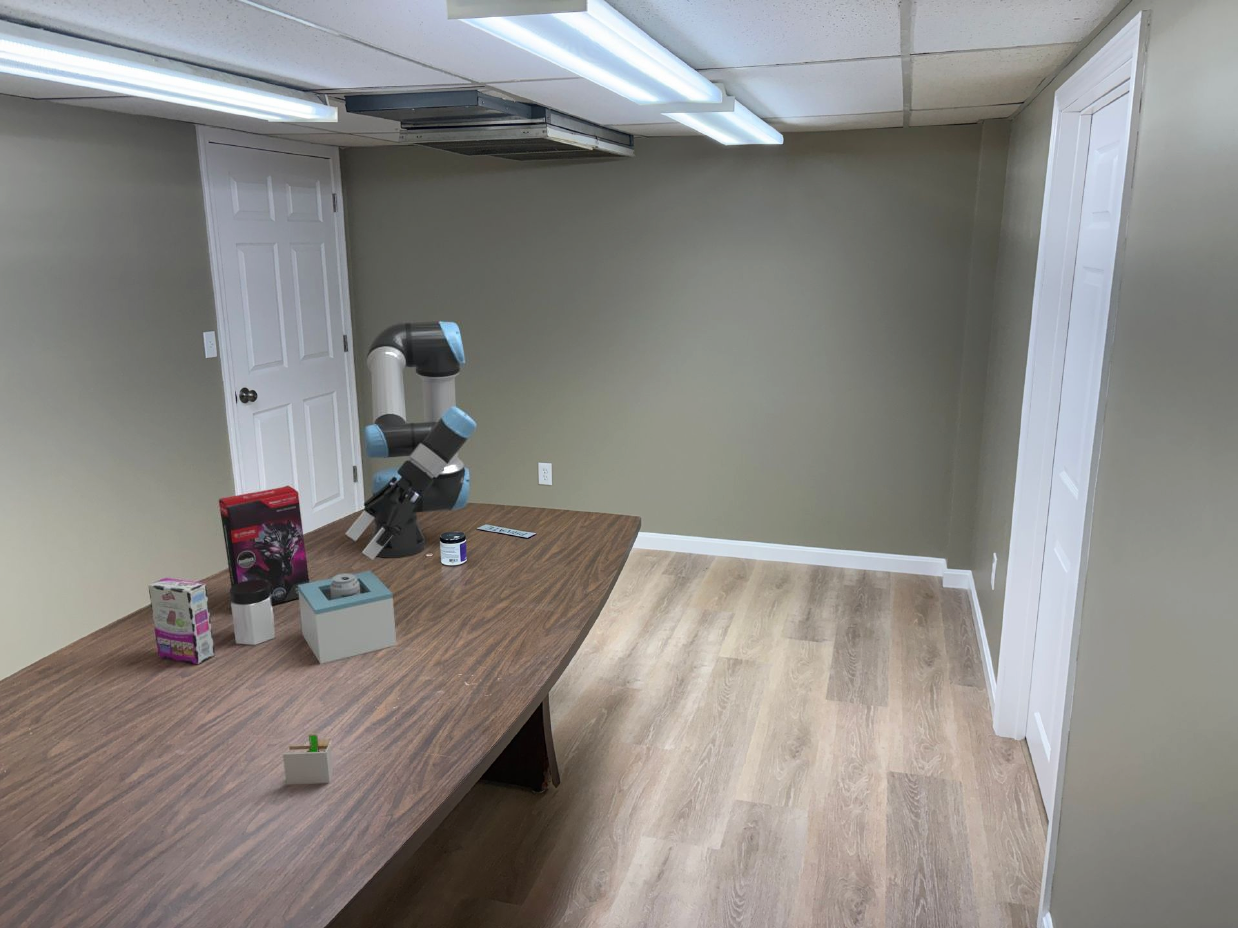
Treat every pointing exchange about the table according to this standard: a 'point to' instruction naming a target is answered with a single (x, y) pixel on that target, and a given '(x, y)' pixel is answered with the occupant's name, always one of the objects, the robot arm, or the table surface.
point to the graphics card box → (266, 540)
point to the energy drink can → (344, 586)
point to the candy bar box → (182, 620)
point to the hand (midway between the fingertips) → (358, 546)
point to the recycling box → (347, 618)
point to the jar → (252, 612)
